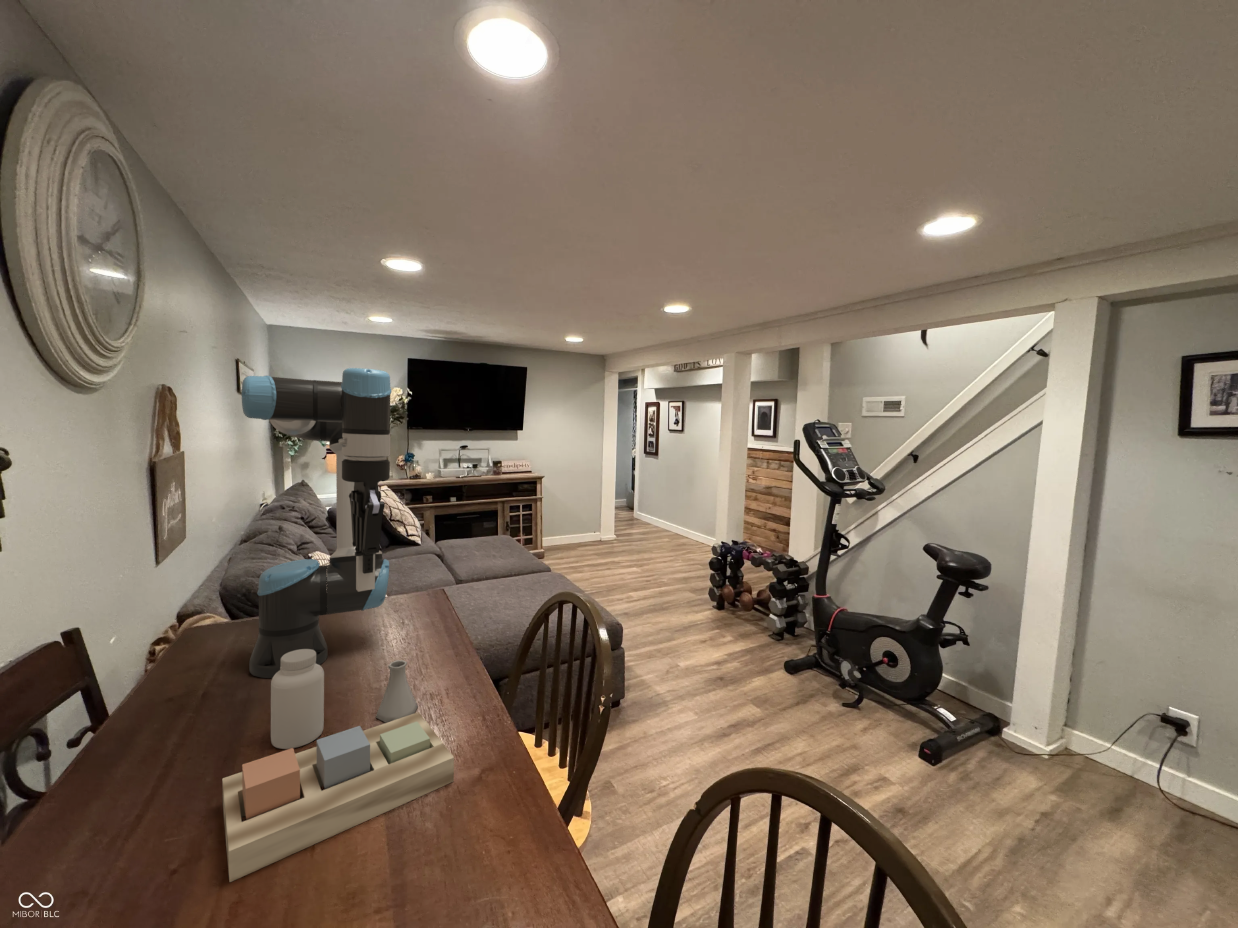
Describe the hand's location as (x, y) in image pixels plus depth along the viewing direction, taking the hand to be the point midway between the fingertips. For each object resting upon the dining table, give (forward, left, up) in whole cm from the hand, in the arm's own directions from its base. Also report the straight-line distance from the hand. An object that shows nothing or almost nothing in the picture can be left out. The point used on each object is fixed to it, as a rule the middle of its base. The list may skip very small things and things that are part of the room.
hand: (365, 588), depth 88 cm
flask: (-3, +6, -27) cm, 28 cm away
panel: (+14, -7, -27) cm, 31 cm away
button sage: (+14, +2, -26) cm, 29 cm away
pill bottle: (-6, -9, -27) cm, 29 cm away
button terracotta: (+14, -15, -23) cm, 31 cm away
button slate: (+14, -7, -23) cm, 28 cm away
